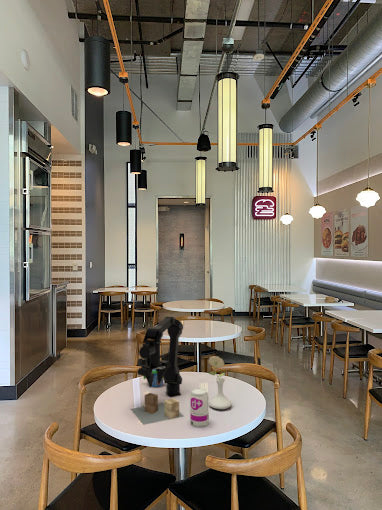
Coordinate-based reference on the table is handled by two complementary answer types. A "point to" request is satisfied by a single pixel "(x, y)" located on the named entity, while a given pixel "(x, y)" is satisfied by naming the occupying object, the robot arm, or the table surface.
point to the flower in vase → (219, 386)
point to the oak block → (171, 408)
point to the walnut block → (151, 403)
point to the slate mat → (152, 418)
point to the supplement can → (199, 408)
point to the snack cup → (155, 379)
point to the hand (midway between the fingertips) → (154, 385)
